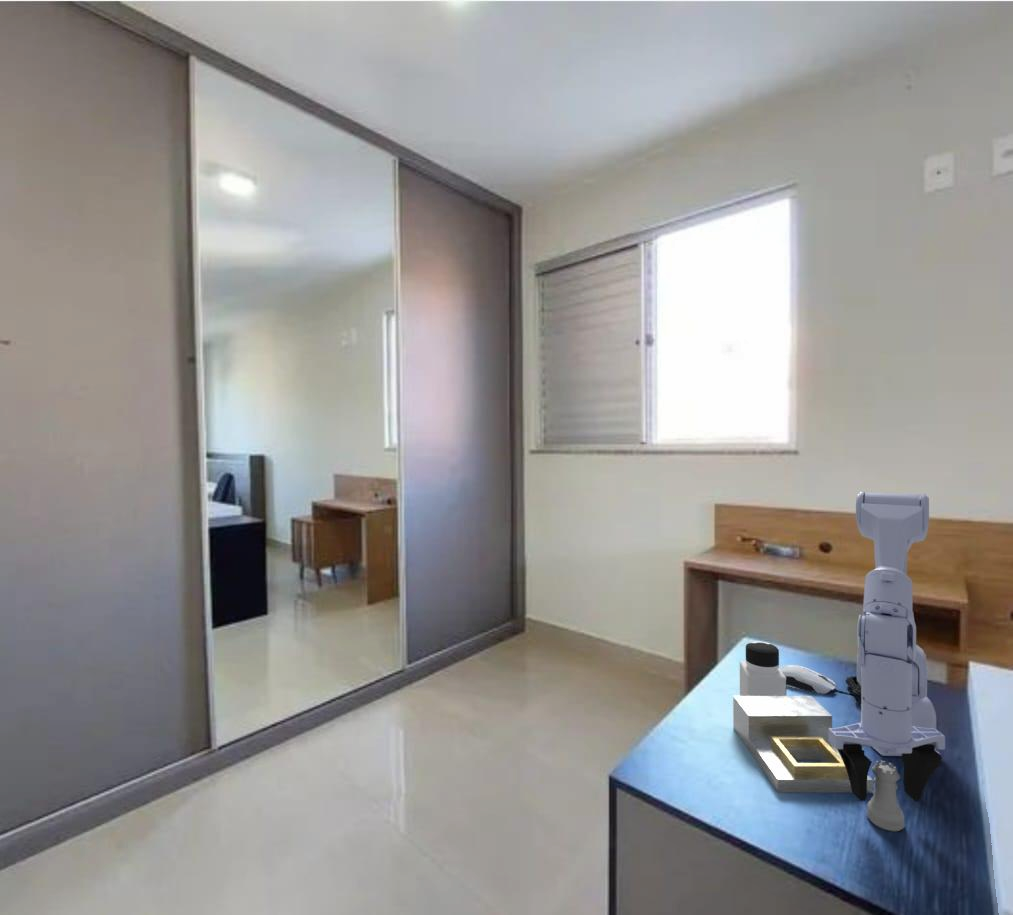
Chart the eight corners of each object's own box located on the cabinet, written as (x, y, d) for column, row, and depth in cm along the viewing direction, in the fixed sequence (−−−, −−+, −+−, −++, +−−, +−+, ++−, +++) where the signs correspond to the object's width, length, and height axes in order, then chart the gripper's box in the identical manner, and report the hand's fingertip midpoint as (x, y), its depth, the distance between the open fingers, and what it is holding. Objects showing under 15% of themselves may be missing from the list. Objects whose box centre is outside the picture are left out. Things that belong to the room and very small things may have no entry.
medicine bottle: (787, 714, 104) (786, 653, 104) (747, 711, 106) (747, 651, 105) (776, 696, 111) (776, 639, 111) (739, 693, 113) (739, 637, 112)
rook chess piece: (906, 838, 72) (907, 780, 72) (866, 825, 75) (866, 769, 74) (903, 817, 76) (903, 762, 76) (865, 806, 78) (865, 752, 78)
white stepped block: (810, 727, 99) (810, 695, 99) (872, 792, 81) (873, 754, 81) (733, 727, 100) (733, 696, 100) (777, 792, 82) (777, 753, 82)
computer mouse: (771, 671, 124) (771, 654, 123) (867, 690, 114) (867, 671, 114) (766, 688, 115) (766, 670, 115) (868, 711, 105) (868, 690, 105)
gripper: (849, 716, 71) (848, 816, 71) (963, 716, 70) (962, 817, 71) (820, 690, 78) (820, 781, 79) (924, 690, 77) (923, 782, 78)
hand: (885, 796), depth 75 cm, fingers open, 7 cm apart
